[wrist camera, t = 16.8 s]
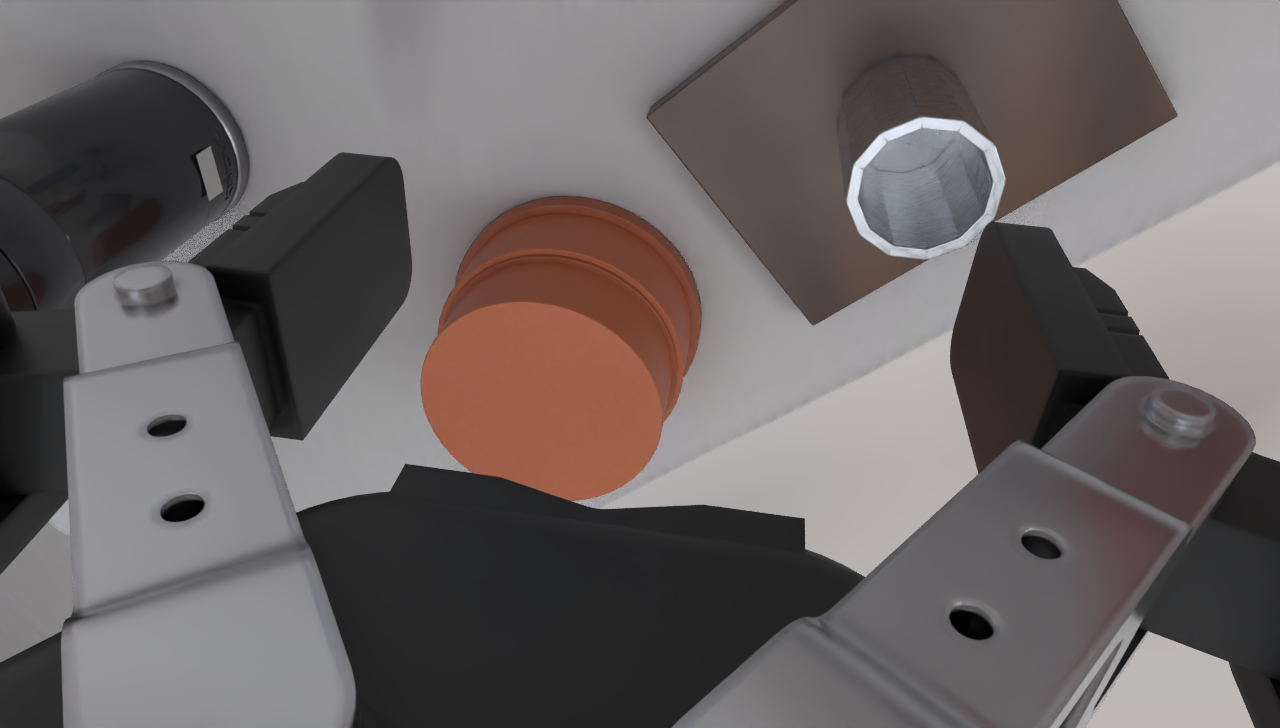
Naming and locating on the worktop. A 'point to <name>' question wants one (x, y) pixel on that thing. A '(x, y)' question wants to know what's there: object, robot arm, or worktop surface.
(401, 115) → the worktop surface
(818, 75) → the board
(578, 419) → the terracotta flower pot
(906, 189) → the steel cup
